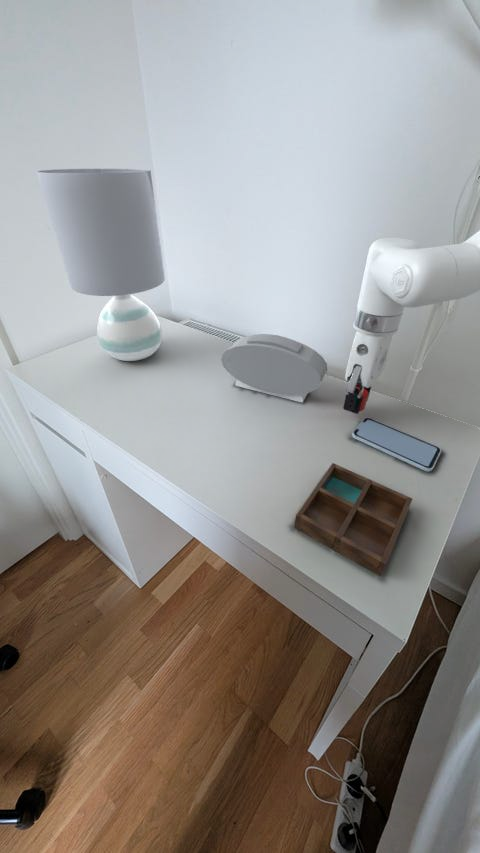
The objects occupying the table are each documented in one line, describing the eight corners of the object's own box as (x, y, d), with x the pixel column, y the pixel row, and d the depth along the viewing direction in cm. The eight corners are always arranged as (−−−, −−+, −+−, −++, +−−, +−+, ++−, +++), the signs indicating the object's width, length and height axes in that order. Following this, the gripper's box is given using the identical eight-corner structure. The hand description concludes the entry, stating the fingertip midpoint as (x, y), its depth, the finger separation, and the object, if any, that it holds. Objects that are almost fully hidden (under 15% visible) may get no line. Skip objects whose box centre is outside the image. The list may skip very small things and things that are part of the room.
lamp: (89, 377, 83) (22, 173, 58) (97, 340, 100) (48, 168, 74) (177, 368, 87) (151, 172, 61) (171, 333, 103) (149, 167, 78)
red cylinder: (367, 404, 71) (371, 390, 68) (360, 414, 68) (364, 399, 66) (349, 398, 72) (352, 384, 70) (342, 407, 70) (345, 393, 68)
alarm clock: (323, 393, 78) (332, 342, 70) (316, 407, 74) (325, 354, 66) (233, 372, 86) (232, 323, 78) (221, 383, 81) (220, 333, 73)
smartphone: (431, 471, 58) (350, 434, 65) (429, 474, 59) (349, 437, 66) (442, 448, 63) (366, 415, 70) (440, 451, 63) (364, 419, 70)
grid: (406, 511, 53) (412, 498, 51) (379, 576, 45) (386, 564, 43) (329, 475, 59) (332, 462, 57) (293, 527, 50) (296, 514, 48)
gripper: (383, 341, 52) (358, 433, 63) (411, 309, 62) (385, 393, 74) (337, 330, 55) (321, 419, 67) (371, 302, 66) (352, 383, 77)
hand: (355, 404), depth 70 cm, fingers closed on red cylinder, 4 cm apart
